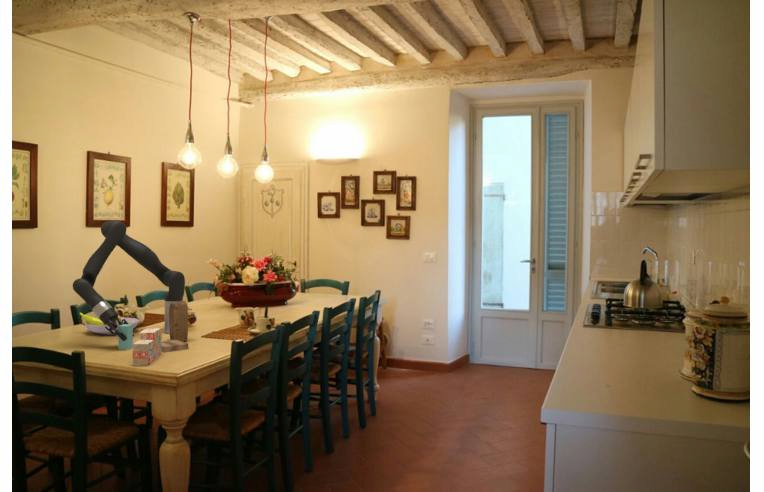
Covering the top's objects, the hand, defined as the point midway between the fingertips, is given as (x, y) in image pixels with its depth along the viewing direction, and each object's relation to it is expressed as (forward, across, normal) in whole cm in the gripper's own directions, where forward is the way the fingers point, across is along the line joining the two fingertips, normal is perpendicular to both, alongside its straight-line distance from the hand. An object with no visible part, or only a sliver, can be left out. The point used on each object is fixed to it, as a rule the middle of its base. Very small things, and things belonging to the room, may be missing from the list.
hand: (129, 338), depth 267 cm
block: (+14, +21, -6) cm, 25 cm away
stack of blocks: (+17, -18, -10) cm, 27 cm away
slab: (+17, +4, -9) cm, 20 cm away
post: (+2, 0, +5) cm, 5 cm away
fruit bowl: (-18, +34, +25) cm, 46 cm away
